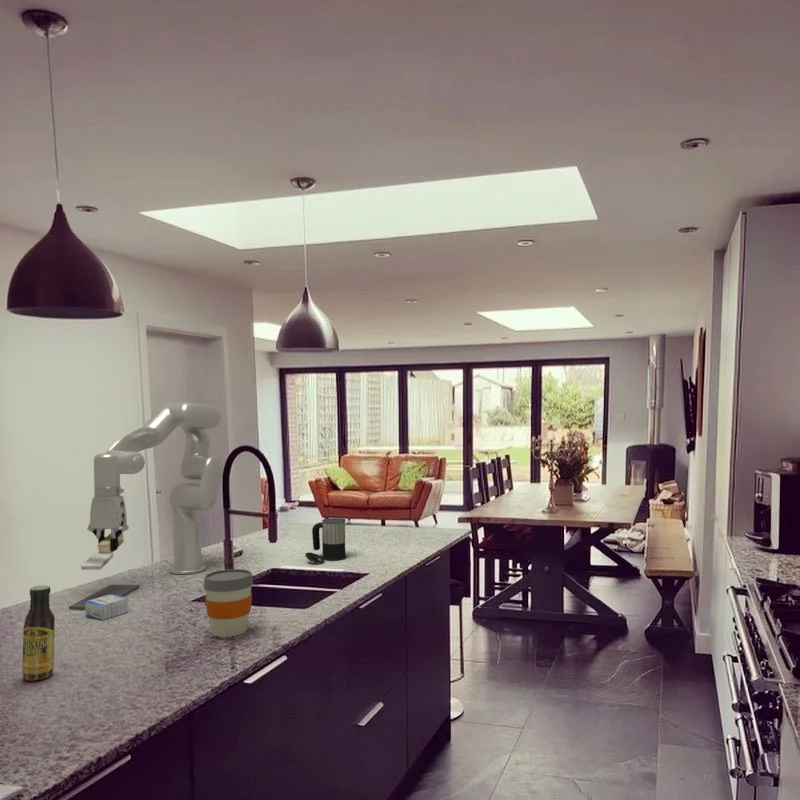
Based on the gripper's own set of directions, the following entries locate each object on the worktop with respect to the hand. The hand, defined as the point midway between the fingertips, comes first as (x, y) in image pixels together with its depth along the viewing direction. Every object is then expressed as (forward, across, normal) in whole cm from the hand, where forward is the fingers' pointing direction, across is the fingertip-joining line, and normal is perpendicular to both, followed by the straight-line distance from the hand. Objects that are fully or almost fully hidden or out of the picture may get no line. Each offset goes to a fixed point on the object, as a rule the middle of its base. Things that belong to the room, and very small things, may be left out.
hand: (108, 550), depth 213 cm
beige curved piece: (+1, 0, +2) cm, 2 cm away
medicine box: (+12, -11, +14) cm, 22 cm away
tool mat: (+15, 0, +2) cm, 15 cm away
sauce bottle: (+15, -17, +62) cm, 66 cm away
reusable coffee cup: (+15, -50, +32) cm, 61 cm away
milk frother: (+15, -60, -48) cm, 79 cm away
